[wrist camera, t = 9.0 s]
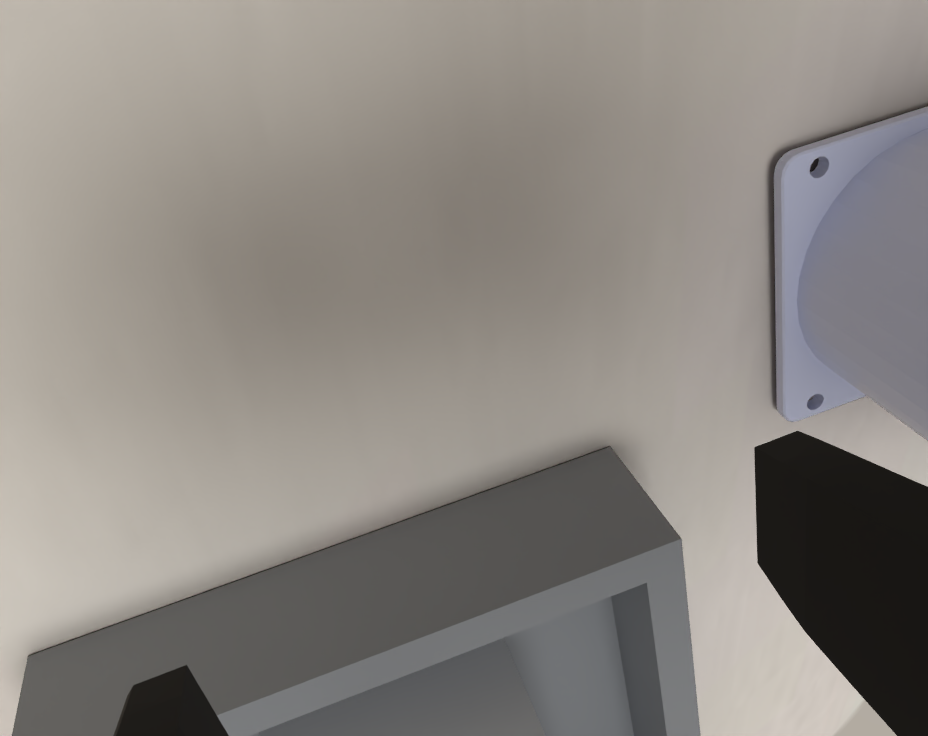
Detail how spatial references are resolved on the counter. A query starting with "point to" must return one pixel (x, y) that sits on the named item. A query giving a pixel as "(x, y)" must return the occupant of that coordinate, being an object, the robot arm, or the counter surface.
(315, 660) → the socket box
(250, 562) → the counter surface
